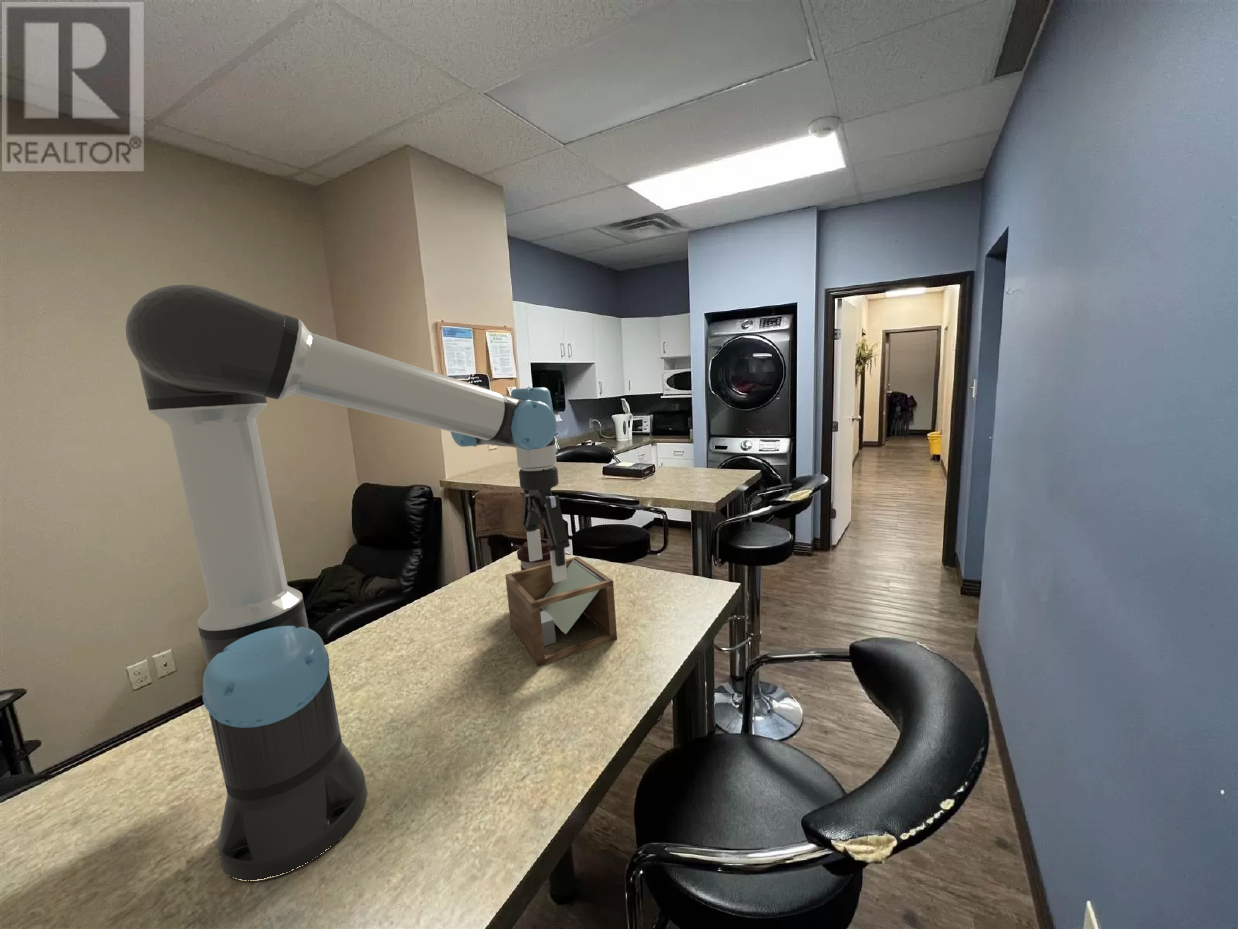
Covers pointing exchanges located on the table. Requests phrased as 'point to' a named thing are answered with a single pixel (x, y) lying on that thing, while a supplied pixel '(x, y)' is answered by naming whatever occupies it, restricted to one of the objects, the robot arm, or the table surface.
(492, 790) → the table surface
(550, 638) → the block
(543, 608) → the trapdoor
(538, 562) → the coffee cup
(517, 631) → the box frame
